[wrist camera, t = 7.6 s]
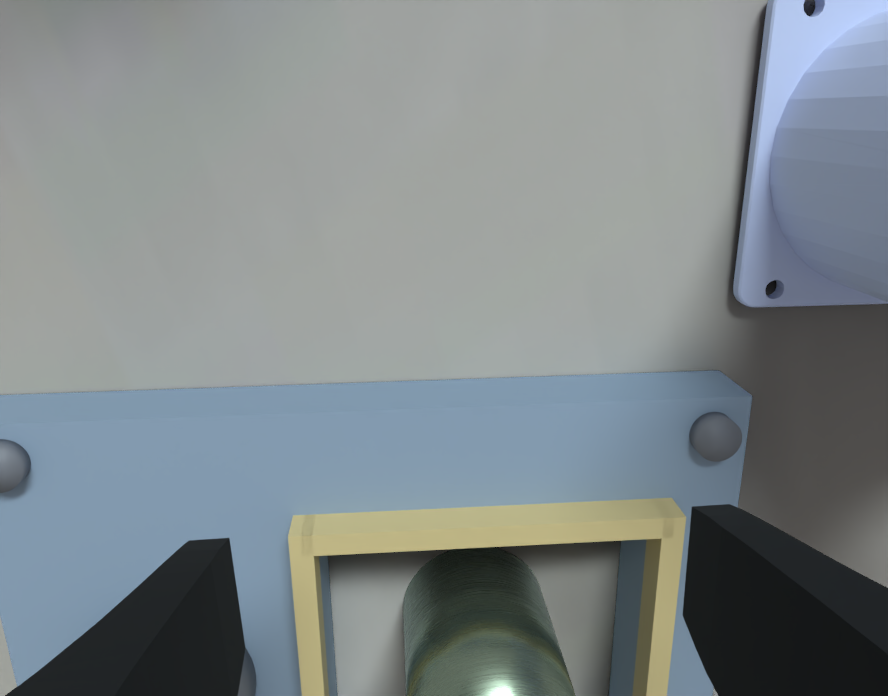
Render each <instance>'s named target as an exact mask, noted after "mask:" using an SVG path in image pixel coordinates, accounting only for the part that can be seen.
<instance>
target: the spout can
mask: <svg viewBox="0 0 888 696" xmlns="http://www.w3.org/2000/svg"><path fill="white" fill-rule="evenodd" d="M403 621H404V651H405V680H406V696H575V693H574V690H573V687H572V684H571V680H570V677H569V674H568V671H567V668H566V665H565V662H564V659H563V656H562V653H561V650H560V647H559V644H558V641H557V638H556V635H555V631H554V628H553V625H552V622H551V619H550V616H549V613H548V610H547V607H546V604H545V601H544V598H543V595H542V592H541V589H540V586H539V583H538V581H537V578H536V577H535V575H534V573H533V572H532V570H531V569H530V568H529V567H528V566H527V565H526V564H525V563H524V562H523V561H522V560H520V559H519V558H517V557H516V556H514V555H512V554H510V553H508V552H506V551H503V550H500V549H497V548H492V547H484V548H465V549H454V550H450V551H448V552H446V553H443V554H441V555H439V556H437V557H435V558H434V559H432V560H431V561H429V562H428V563H427V564H426V565H424V566H423V567H422V568H421V569H420V570H419V571H418V572H417V574H416V575H415V576H414V578H413V579H412V581H411V582H410V584H409V586H408V588H407V591H406V594H405V597H404V603H403Z"/></svg>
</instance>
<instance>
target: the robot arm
mask: <svg viewBox="0 0 888 696" xmlns="http://www.w3.org/2000/svg"><path fill="white" fill-rule="evenodd" d="M814 1H815V10H814V13H813V14H812V15H811V16H807V15H806V13H805V12H804V7H803V4H804V2H805V0H768V4H767V8H766V16H765V24H764V33H763V41H762V50H761V58H760V66H759V75H758V83H757V91H756V100H755V108H754V117H753V125H752V133H751V142H750V150H749V159H748V167H747V175H746V184H745V192H744V200H743V209H742V217H741V226H740V234H739V242H738V251H737V259H736V268H735V276H734V284H733V292H734V296H735V298H736V299H737V300H738V301H739V302H740V303H742V304H744V305H746V306H748V307H789V306H824V305H859V304H888V0H814ZM774 280H776V283H777V287H776V289H775V291H774V292H773V293H772V294H771V295H766V292H765V289H766V287H767V285H768V284H769V283H770V282H771V281H774ZM682 615H683V618H684V620H685V623H686V625H687V628H688V630H689V633H690V635H691V638H692V640H693V643H694V645H695V648H696V650H697V653H698V655H699V657H700V659H701V662H702V664H703V666H704V669H705V671H706V673H707V675H708V677H709V679H710V681H711V683H712V684H713V686H714V688H715V690H716V692H717V693H718V695H719V696H888V588H887V587H884V586H883V585H881V584H879V583H877V582H875V581H873V580H871V579H869V578H867V577H865V576H863V575H861V574H859V573H858V572H856V571H854V570H852V569H850V568H848V567H846V566H844V565H843V564H841V563H839V562H837V561H835V560H833V559H832V558H830V557H828V556H826V555H824V554H822V553H821V552H819V551H817V550H815V549H813V548H812V547H810V546H808V545H806V544H804V543H803V542H801V541H799V540H797V539H795V538H794V537H792V536H790V535H788V534H787V533H785V532H783V531H781V530H779V529H778V528H776V527H774V526H772V525H770V524H768V523H767V522H765V521H763V520H761V519H759V518H757V517H755V516H754V515H752V514H750V513H748V512H746V511H744V510H742V509H740V508H737V507H735V506H733V505H731V504H723V505H708V506H693V507H692V510H691V522H690V533H689V545H688V556H687V568H686V580H685V591H684V603H683V614H682ZM244 655H245V642H244V635H243V628H242V621H241V614H240V607H239V600H238V593H237V587H236V580H235V573H234V566H233V559H232V552H231V545H230V539H229V538H218V539H204V540H189V541H188V542H186V543H185V544H184V545H183V546H182V547H180V548H179V549H178V550H177V551H176V552H175V553H174V554H173V555H171V556H170V557H169V558H168V559H167V560H166V561H165V562H164V563H163V564H162V565H160V566H159V567H158V568H157V569H156V570H155V571H154V572H153V573H152V574H151V575H150V576H149V577H147V578H146V579H145V580H144V581H143V582H142V583H141V584H140V585H139V586H138V587H137V588H135V589H134V590H133V591H132V592H131V593H130V594H129V595H128V596H127V597H125V598H124V599H123V600H122V601H121V602H120V603H119V604H118V605H116V606H115V607H114V608H113V609H112V610H111V611H110V612H109V613H108V614H106V615H105V616H104V617H103V618H102V619H101V620H100V621H98V622H97V623H96V624H95V625H94V626H93V627H91V628H90V629H89V630H88V631H86V632H85V633H84V634H83V635H82V636H80V637H79V638H78V639H77V640H75V641H74V642H73V643H72V644H71V645H69V646H68V647H67V648H66V649H64V650H63V651H62V652H61V653H60V654H58V655H57V656H56V657H55V658H53V659H52V660H51V661H50V662H49V663H47V664H46V665H45V666H44V667H42V668H41V669H40V670H39V671H38V672H36V673H35V674H34V675H32V676H31V677H30V678H28V679H27V680H26V681H24V682H23V683H22V684H20V685H19V686H18V687H16V688H15V689H14V690H12V691H11V692H10V693H8V694H7V695H5V696H238V691H239V685H240V679H241V673H242V667H243V661H244Z"/></svg>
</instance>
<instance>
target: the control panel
mask: <svg viewBox="0 0 888 696" xmlns="http://www.w3.org/2000/svg"><path fill="white" fill-rule="evenodd" d="M752 397H753V396H752V395H750V394H749V393H748V392H747V391H745V390H744V389H743V388H741V387H740V386H739V385H737V384H736V383H735V382H734V381H732V380H731V379H730V378H728V377H727V376H726V375H724V374H723V373H722V372H721V371H719V370H714V371H685V372H656V373H627V374H598V375H569V376H540V377H511V378H483V379H454V380H425V381H396V382H367V383H338V384H309V385H280V386H251V387H222V388H193V389H164V390H135V391H107V392H78V393H49V394H20V395H0V617H1V621H2V625H3V629H4V633H5V638H6V642H7V646H8V650H9V654H10V658H11V663H12V667H13V671H14V675H15V679H16V683H17V687H18V686H19V685H20V684H22V683H23V682H24V681H26V680H27V679H28V678H30V677H31V676H32V675H34V674H35V673H36V672H38V671H39V670H40V669H41V668H42V667H44V666H45V665H46V664H47V663H49V662H50V661H51V660H52V659H53V658H55V657H56V656H57V655H58V654H60V653H61V652H62V651H63V650H64V649H66V648H67V647H68V646H69V645H71V644H72V643H73V642H74V641H75V640H77V639H78V638H79V637H80V636H82V635H83V634H84V633H85V632H86V631H88V630H89V629H90V628H91V627H93V626H94V625H95V624H96V623H97V622H98V621H100V620H101V619H102V618H103V617H104V616H105V615H106V614H108V613H109V612H110V611H111V610H112V609H113V608H114V607H115V606H116V605H118V604H119V603H120V602H121V601H122V600H123V599H124V598H125V597H127V596H128V595H129V594H130V593H131V592H132V591H133V590H134V589H135V588H137V587H138V586H139V585H140V584H141V583H142V582H143V581H144V580H145V579H146V578H147V577H149V576H150V575H151V574H152V573H153V572H154V571H155V570H156V569H157V568H158V567H159V566H160V565H162V564H163V563H164V562H165V561H166V560H167V559H168V558H169V557H170V556H171V555H173V554H174V553H175V552H176V551H177V550H178V549H179V548H180V547H182V546H183V545H184V544H185V543H186V542H188V541H189V540H204V539H218V538H229V539H230V545H231V552H232V559H233V566H234V573H235V580H236V587H237V593H238V600H239V607H240V614H241V621H242V628H243V635H244V642H245V655H244V661H243V667H242V673H241V679H240V685H239V691H238V696H337V682H336V667H335V652H334V638H333V623H332V609H331V594H330V579H329V565H328V555H347V554H366V553H386V552H406V551H425V550H445V549H465V548H484V547H504V546H524V545H543V544H563V543H583V542H602V541H621V547H620V559H619V572H618V585H617V598H616V611H615V623H614V636H613V649H612V662H611V674H610V687H609V696H712V695H713V687H714V686H713V684H712V683H711V681H710V679H709V677H708V675H707V673H706V671H705V669H704V666H703V664H702V662H701V659H700V657H699V655H698V653H697V650H696V648H695V645H694V643H693V640H692V638H691V635H690V633H689V630H688V628H687V625H686V623H685V620H684V618H683V615H682V614H683V603H684V591H685V580H686V568H687V556H688V545H689V533H690V522H691V510H692V507H693V506H708V505H723V504H731V505H733V506H735V507H737V508H738V501H739V494H740V486H741V479H742V471H743V464H744V456H745V449H746V441H747V434H748V427H749V419H750V412H751V404H752Z"/></svg>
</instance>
